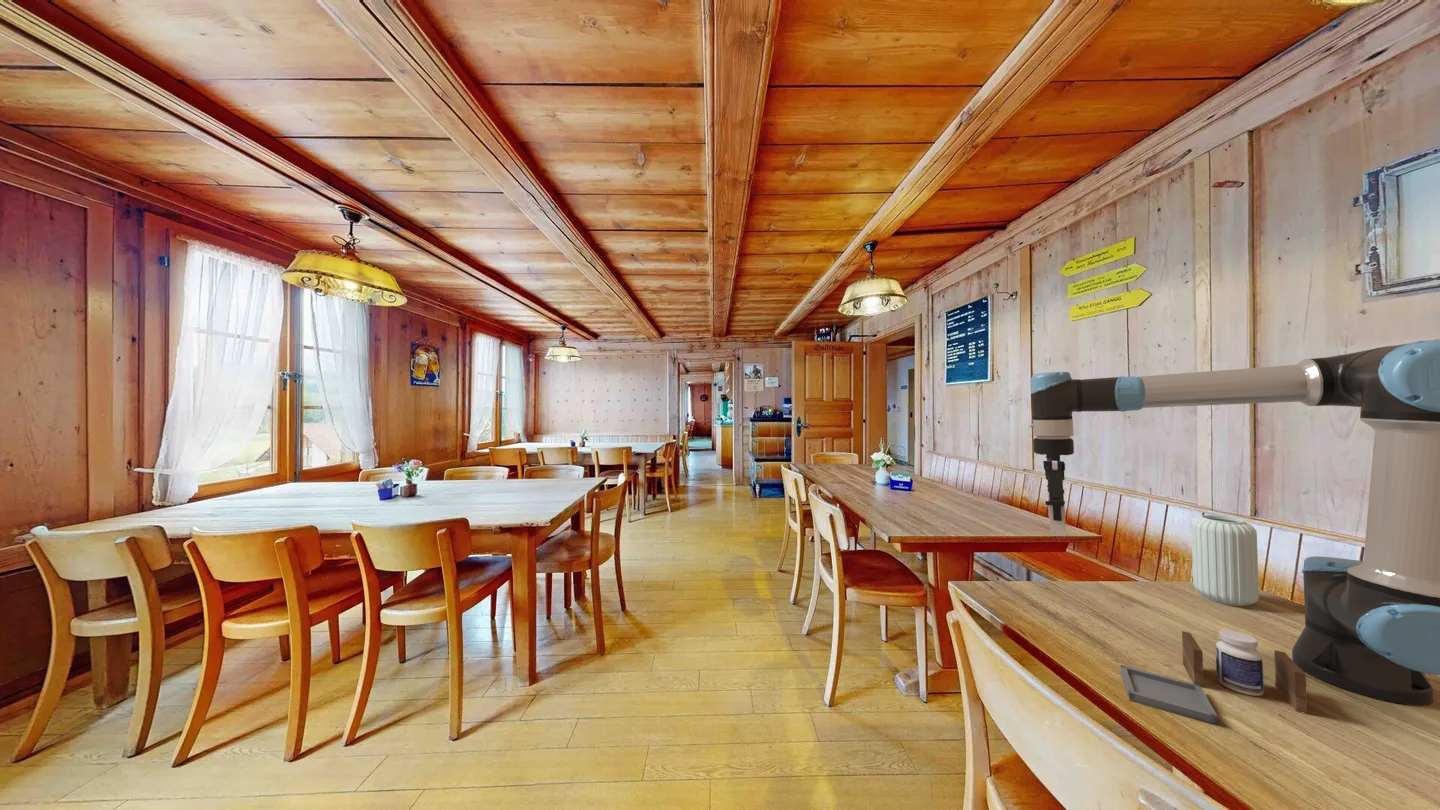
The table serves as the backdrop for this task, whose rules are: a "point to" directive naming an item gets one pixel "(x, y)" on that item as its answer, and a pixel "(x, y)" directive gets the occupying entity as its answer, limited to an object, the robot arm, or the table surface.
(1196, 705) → the tray
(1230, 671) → the pill bottle
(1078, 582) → the table surface
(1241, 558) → the vase
